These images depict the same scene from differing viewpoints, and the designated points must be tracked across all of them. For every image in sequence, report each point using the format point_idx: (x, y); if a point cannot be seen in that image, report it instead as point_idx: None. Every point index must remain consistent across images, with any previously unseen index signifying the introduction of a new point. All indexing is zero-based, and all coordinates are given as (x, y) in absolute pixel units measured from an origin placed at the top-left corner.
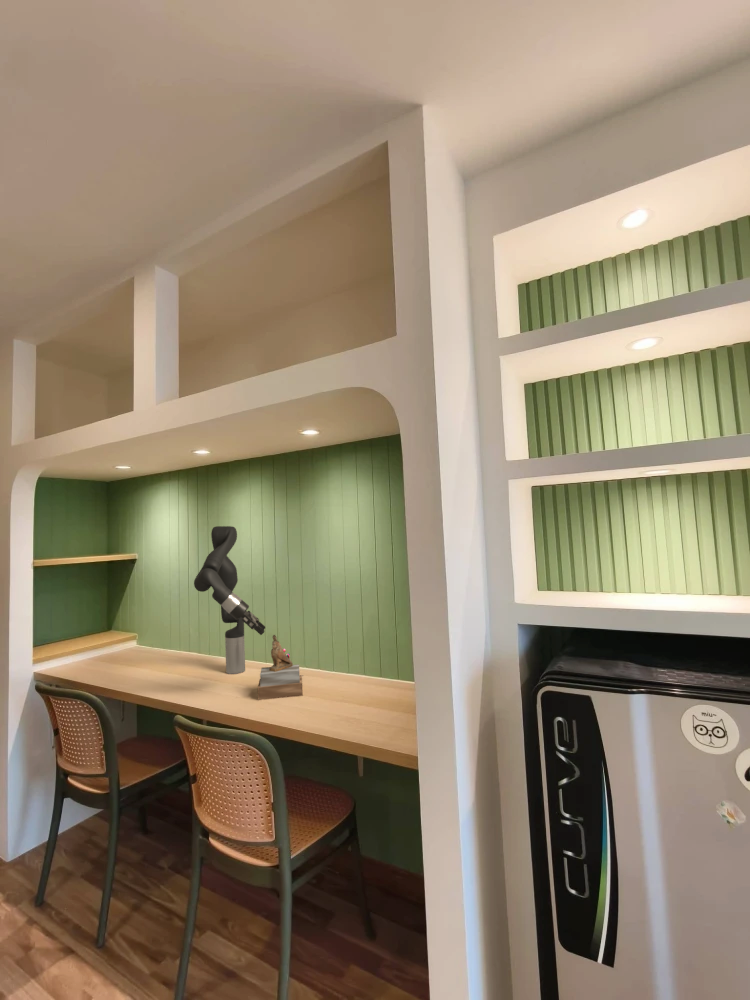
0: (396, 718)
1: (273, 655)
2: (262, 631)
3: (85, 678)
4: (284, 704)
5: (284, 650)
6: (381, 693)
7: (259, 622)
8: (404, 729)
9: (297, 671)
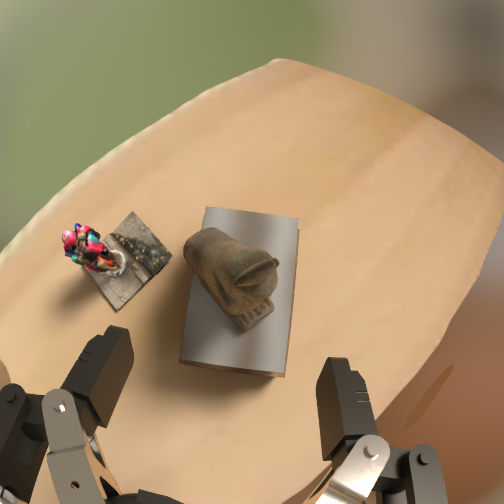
0: (445, 133)
1: (259, 304)
2: (357, 376)
3: None
4: (345, 300)
5: (73, 235)
6: (335, 99)
7: (93, 396)
8: (473, 144)
9: (297, 225)
